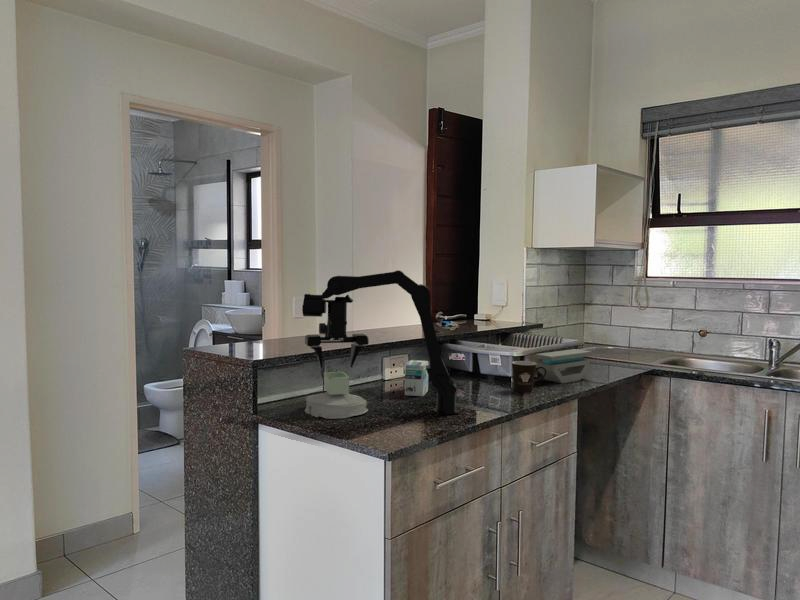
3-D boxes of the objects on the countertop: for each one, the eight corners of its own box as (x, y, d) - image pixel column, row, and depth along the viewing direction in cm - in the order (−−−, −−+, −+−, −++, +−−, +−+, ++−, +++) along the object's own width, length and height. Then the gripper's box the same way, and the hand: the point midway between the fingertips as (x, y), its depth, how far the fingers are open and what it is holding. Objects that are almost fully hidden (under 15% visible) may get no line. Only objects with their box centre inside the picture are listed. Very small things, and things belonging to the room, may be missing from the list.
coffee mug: (507, 391, 223) (508, 363, 222) (515, 387, 231) (516, 360, 230) (540, 395, 218) (541, 366, 217) (546, 390, 225) (547, 363, 224)
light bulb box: (423, 396, 212) (424, 365, 211) (404, 395, 213) (404, 364, 213) (428, 390, 222) (429, 360, 222) (409, 389, 224) (410, 359, 223)
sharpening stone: (574, 375, 256) (575, 349, 255) (590, 378, 250) (591, 351, 249) (534, 382, 241) (535, 354, 240) (551, 385, 235) (552, 356, 234)
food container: (291, 410, 193) (291, 389, 192) (346, 401, 205) (346, 380, 204) (324, 425, 177) (324, 402, 177) (381, 414, 189) (381, 392, 189)
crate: (349, 393, 187) (349, 377, 187) (329, 394, 185) (329, 378, 185) (343, 387, 196) (343, 371, 196) (323, 388, 194) (323, 372, 194)
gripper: (360, 314, 200) (359, 362, 201) (302, 314, 195) (301, 364, 196) (369, 317, 190) (368, 368, 191) (308, 318, 184) (307, 370, 185)
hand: (336, 367), depth 191 cm, fingers open, 9 cm apart
